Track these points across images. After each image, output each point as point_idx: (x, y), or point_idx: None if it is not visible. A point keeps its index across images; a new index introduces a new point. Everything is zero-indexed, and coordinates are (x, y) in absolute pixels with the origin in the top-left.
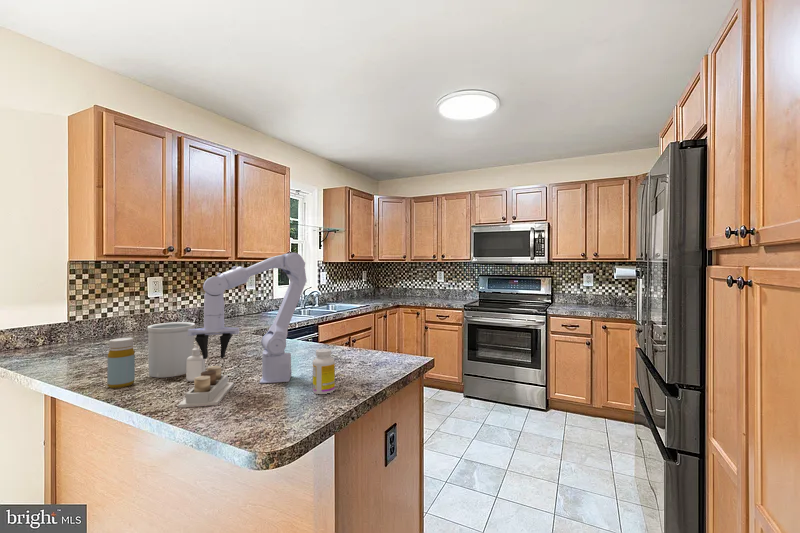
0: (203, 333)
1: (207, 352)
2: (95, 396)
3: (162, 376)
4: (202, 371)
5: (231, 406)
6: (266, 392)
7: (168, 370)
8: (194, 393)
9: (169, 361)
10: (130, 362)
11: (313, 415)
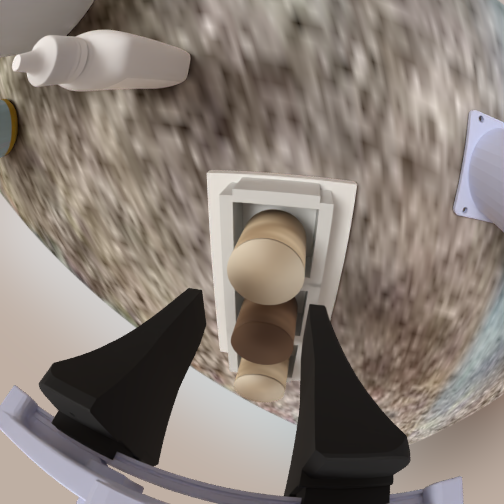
0: (105, 462)
1: (187, 312)
2: (13, 205)
3: None
4: (167, 76)
5: None
6: (449, 306)
7: None
8: None
9: (18, 41)
10: None
11: (459, 408)
